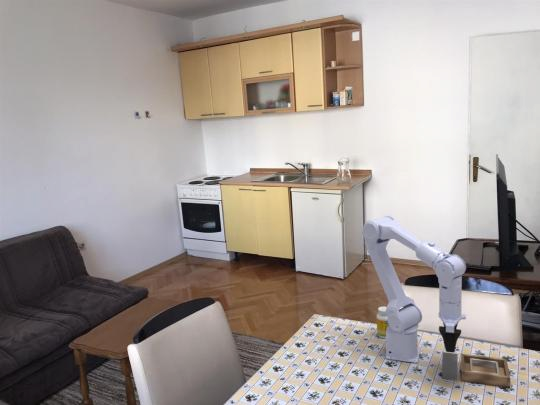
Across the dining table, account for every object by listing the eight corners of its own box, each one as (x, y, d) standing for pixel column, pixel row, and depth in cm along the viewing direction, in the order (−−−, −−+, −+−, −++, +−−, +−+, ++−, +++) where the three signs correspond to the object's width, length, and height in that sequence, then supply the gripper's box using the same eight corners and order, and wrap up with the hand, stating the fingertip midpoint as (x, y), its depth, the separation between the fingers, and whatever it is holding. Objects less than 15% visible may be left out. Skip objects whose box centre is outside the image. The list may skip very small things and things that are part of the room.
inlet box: (461, 381, 125) (461, 371, 124) (461, 362, 134) (461, 353, 133) (510, 388, 120) (510, 378, 119) (506, 368, 129) (506, 359, 128)
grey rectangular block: (442, 378, 126) (442, 359, 125) (442, 371, 130) (442, 352, 129) (457, 380, 125) (457, 361, 124) (457, 373, 129) (457, 353, 127)
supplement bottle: (384, 329, 157) (383, 304, 156) (396, 335, 153) (395, 308, 151) (373, 334, 154) (372, 308, 153) (385, 340, 150) (384, 313, 148)
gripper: (466, 311, 115) (466, 359, 118) (465, 290, 129) (465, 334, 131) (437, 308, 118) (437, 356, 120) (439, 289, 131) (439, 332, 134)
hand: (450, 344), depth 126 cm, fingers open, 7 cm apart
